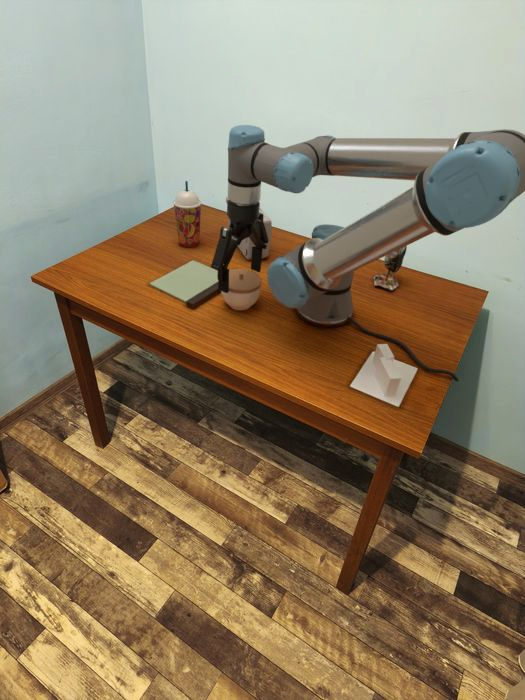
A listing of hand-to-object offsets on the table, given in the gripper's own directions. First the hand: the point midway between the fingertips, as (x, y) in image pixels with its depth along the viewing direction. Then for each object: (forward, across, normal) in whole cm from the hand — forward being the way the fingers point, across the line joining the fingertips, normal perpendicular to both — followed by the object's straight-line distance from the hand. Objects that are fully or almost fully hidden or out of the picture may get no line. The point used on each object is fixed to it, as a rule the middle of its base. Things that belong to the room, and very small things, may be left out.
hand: (240, 280), depth 119 cm
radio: (+8, -28, -19) cm, 34 cm away
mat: (+7, 0, -18) cm, 19 cm away
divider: (+7, 0, -9) cm, 11 cm away
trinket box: (+7, 0, 0) cm, 7 cm away
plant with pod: (+7, -38, +26) cm, 47 cm away
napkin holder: (+7, +2, +43) cm, 44 cm away
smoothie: (+8, -17, -34) cm, 38 cm away
